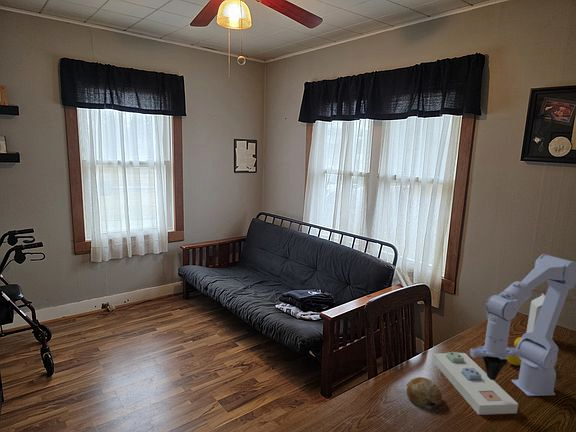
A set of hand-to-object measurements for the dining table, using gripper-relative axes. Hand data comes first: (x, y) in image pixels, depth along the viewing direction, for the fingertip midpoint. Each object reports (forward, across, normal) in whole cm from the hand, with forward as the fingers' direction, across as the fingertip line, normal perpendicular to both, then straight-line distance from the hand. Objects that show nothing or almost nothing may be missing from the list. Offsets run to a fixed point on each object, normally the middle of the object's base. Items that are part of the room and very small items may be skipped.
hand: (491, 377), depth 112 cm
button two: (+6, 0, +19) cm, 20 cm away
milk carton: (+9, +47, +37) cm, 60 cm away
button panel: (+8, 0, +9) cm, 12 cm away
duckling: (+9, +25, +20) cm, 33 cm away
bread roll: (+9, -19, +4) cm, 21 cm away
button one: (+8, 0, -1) cm, 8 cm away
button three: (+6, 0, +9) cm, 11 cm away
